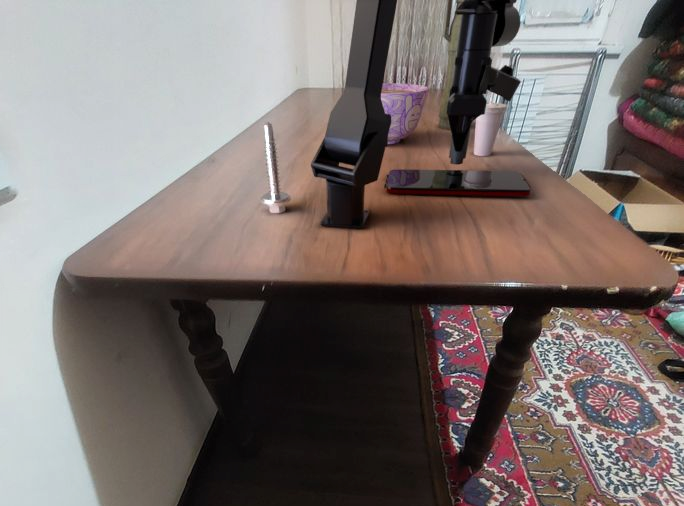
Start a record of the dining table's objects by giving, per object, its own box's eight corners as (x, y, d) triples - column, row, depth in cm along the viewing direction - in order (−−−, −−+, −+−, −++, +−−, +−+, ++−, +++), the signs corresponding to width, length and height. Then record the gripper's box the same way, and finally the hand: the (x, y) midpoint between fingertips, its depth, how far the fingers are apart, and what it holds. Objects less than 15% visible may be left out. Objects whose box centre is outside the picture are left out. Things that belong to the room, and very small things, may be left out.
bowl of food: (429, 149, 96) (435, 92, 89) (345, 150, 97) (345, 94, 90) (417, 132, 112) (422, 82, 105) (345, 133, 113) (345, 84, 105)
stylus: (465, 165, 78) (474, 112, 73) (447, 164, 79) (455, 112, 73) (464, 161, 81) (473, 109, 75) (448, 160, 82) (455, 109, 76)
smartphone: (388, 167, 80) (520, 169, 76) (387, 176, 81) (518, 178, 77) (383, 187, 71) (534, 190, 67) (383, 196, 72) (531, 199, 68)
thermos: (428, 124, 120) (447, -39, 98) (467, 122, 121) (494, -39, 99) (437, 130, 113) (459, -43, 91) (478, 128, 114) (510, -44, 92)
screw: (266, 217, 64) (259, 208, 68) (295, 213, 66) (287, 204, 69) (254, 126, 56) (247, 120, 60) (288, 123, 57) (279, 117, 61)
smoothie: (491, 150, 95) (506, 78, 86) (500, 157, 90) (517, 82, 81) (464, 151, 95) (476, 79, 86) (472, 158, 90) (486, 83, 81)
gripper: (531, 52, 60) (505, 164, 70) (518, 45, 74) (498, 139, 84) (454, 53, 62) (439, 161, 72) (455, 46, 76) (443, 138, 86)
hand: (458, 149), depth 78 cm, fingers closed on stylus, 3 cm apart
